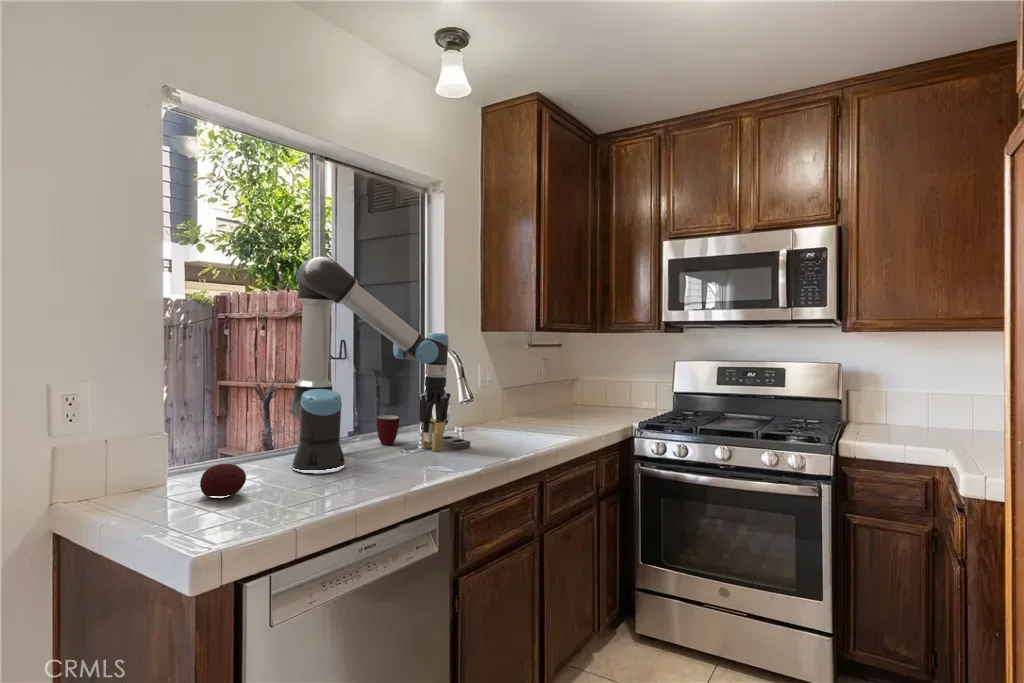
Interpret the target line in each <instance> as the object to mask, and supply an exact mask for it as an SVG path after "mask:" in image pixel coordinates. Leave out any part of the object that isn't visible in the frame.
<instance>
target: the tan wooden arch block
mask: <svg viewBox="0 0 1024 683" xmlns="http://www.w3.org/2000/svg"><path fill="white" fill-rule="evenodd" d="M430 424H432V428H431V442H426V441H424V436H425V432H424V423H423V422H420V430H421V444H420V447H422V448H427V447H431V451H440V450H443V447H442V444H443V436H444V434H445V433H446V432H445V431H446V421H444V422H443V421H439V420H436V418H431V420H430Z"/></svg>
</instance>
